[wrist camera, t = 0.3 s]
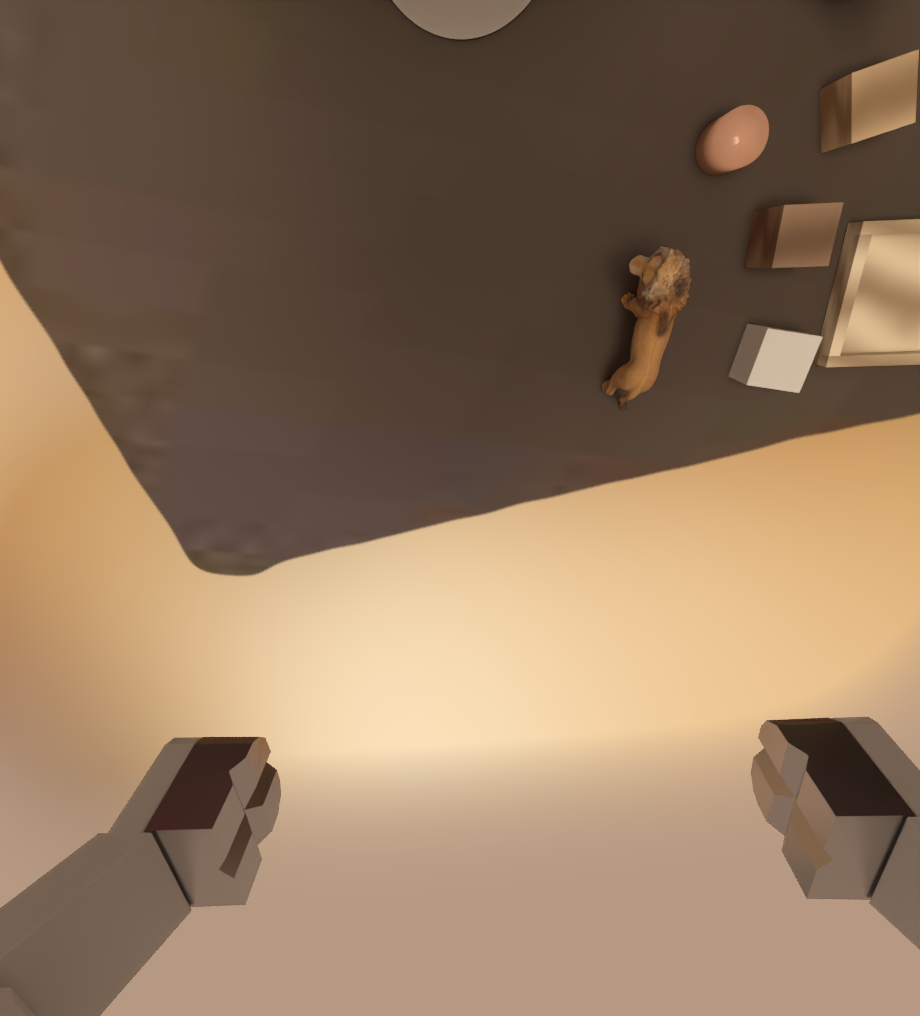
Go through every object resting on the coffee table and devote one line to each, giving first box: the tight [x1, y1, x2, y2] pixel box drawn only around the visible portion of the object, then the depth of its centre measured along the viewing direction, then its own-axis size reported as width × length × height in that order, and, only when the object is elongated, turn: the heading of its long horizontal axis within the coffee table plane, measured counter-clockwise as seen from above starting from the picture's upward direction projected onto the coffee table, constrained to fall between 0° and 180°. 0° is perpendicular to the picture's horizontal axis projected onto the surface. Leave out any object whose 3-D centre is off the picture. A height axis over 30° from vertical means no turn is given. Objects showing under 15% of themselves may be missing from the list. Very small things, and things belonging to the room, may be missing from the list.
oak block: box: [820, 50, 919, 153], centre depth 41 cm, size 4×4×4 cm
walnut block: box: [744, 202, 843, 268], centre depth 44 cm, size 4×4×5 cm
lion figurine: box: [602, 247, 691, 411], centre depth 46 cm, size 15×5×9 cm, turn 2°
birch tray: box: [814, 219, 920, 367], centre depth 47 cm, size 12×12×2 cm
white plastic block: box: [728, 324, 823, 393], centre depth 49 cm, size 5×5×4 cm
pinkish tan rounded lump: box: [695, 105, 769, 176], centre depth 42 cm, size 4×4×4 cm
